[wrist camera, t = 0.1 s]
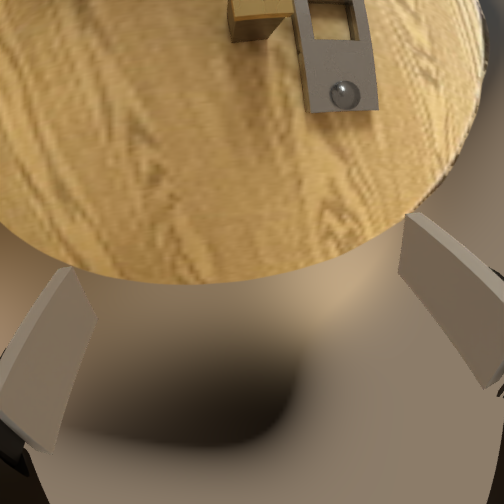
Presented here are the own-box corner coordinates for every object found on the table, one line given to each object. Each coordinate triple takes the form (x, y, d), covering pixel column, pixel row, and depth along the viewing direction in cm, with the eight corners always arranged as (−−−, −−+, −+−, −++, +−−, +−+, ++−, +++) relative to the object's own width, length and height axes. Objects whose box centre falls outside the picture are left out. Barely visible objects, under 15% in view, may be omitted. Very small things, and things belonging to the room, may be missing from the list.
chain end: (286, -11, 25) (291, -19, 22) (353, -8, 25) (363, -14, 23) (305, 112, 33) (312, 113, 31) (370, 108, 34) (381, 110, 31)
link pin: (224, 12, 26) (227, -29, 15) (263, 8, 26) (284, -32, 15) (230, 44, 29) (235, 16, 17) (269, 40, 29) (293, 12, 17)
